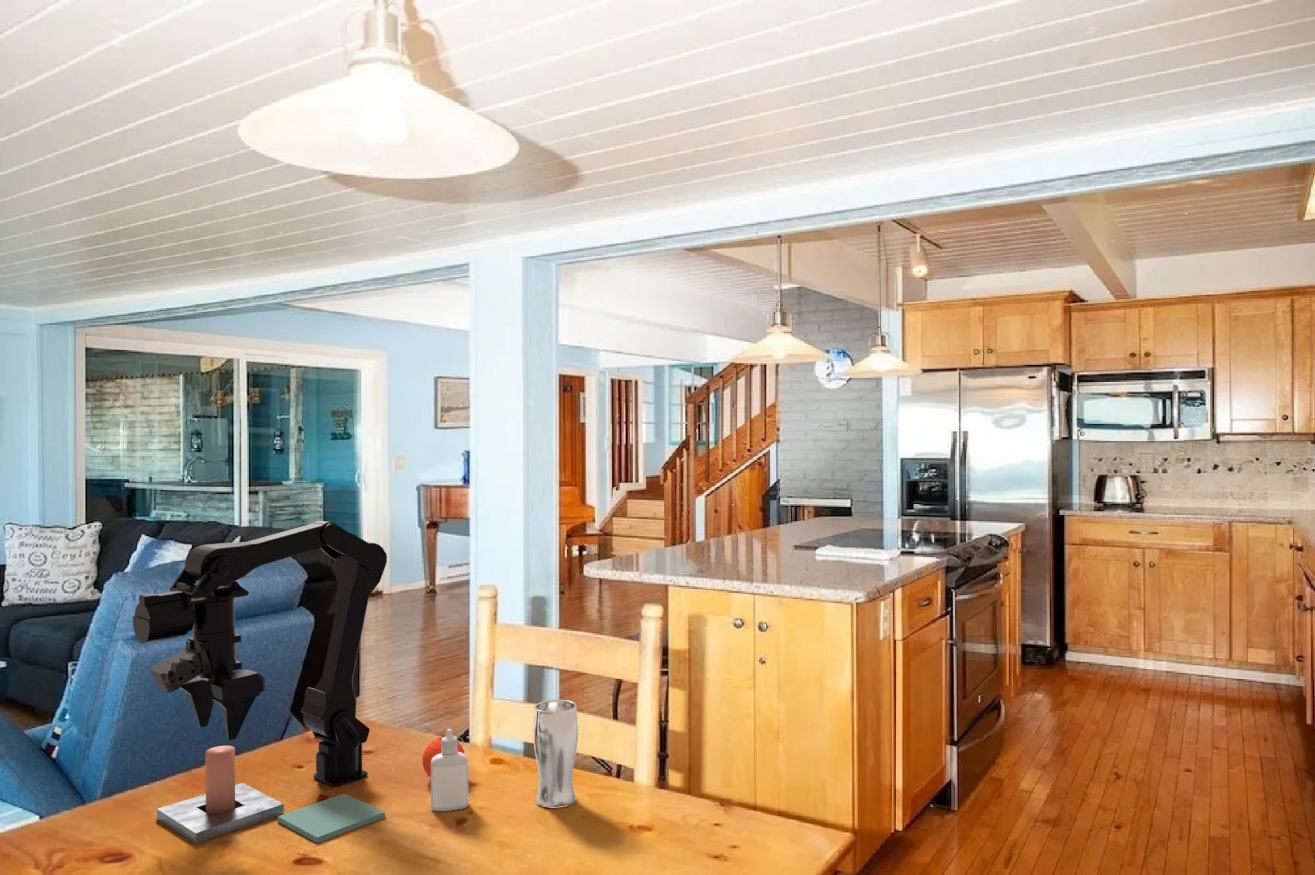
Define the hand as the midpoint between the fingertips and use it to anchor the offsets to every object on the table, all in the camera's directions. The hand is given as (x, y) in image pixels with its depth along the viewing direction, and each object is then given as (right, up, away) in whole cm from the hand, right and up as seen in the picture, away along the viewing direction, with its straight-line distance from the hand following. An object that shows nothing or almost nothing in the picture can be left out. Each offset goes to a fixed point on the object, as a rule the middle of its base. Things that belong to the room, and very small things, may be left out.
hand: (217, 733), depth 138 cm
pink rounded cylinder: (0, -13, 0) cm, 13 cm away
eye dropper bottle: (+34, -13, +4) cm, 37 cm away
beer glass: (+50, -13, +6) cm, 52 cm away
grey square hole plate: (0, -13, 0) cm, 13 cm away
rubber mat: (+17, -13, -1) cm, 22 cm away
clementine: (+31, -13, +15) cm, 37 cm away
